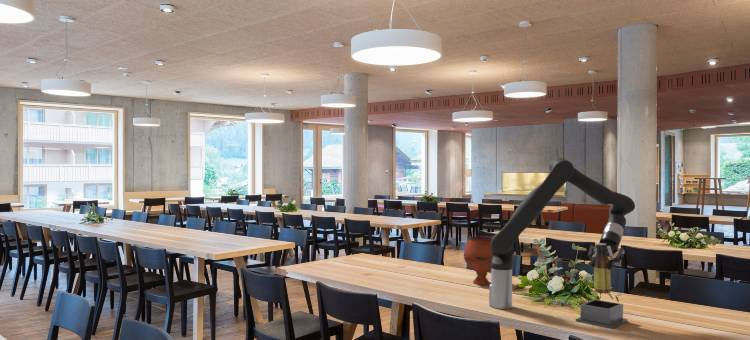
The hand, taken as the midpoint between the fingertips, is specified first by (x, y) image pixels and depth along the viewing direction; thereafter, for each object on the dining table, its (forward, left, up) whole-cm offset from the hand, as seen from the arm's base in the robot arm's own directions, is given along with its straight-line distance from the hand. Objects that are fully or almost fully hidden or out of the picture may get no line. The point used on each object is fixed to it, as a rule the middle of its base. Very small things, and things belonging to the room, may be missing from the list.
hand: (600, 267), depth 225 cm
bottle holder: (0, +2, -22) cm, 22 cm away
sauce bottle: (0, +2, -11) cm, 11 cm away
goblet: (-78, +32, -22) cm, 87 cm away
